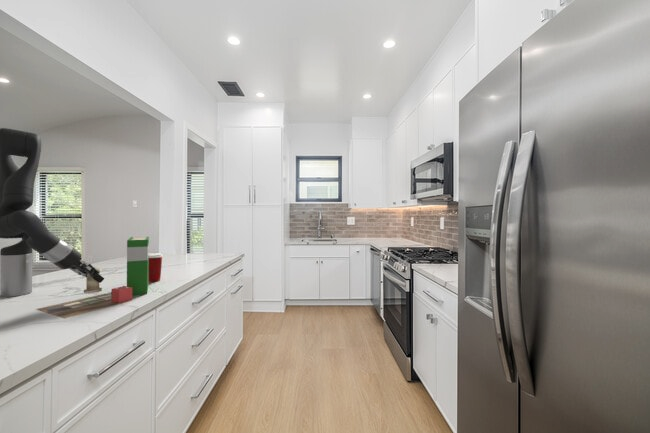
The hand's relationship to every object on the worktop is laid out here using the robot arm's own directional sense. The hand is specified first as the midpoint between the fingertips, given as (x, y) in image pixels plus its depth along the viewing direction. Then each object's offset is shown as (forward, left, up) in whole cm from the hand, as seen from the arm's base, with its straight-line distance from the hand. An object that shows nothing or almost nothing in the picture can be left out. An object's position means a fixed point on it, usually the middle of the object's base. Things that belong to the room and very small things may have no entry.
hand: (98, 280), depth 114 cm
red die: (+9, +4, -8) cm, 13 cm away
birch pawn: (0, -2, -4) cm, 5 cm away
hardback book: (0, +16, -8) cm, 18 cm away
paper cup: (-11, +31, -8) cm, 34 cm away
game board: (+3, -5, -8) cm, 10 cm away
